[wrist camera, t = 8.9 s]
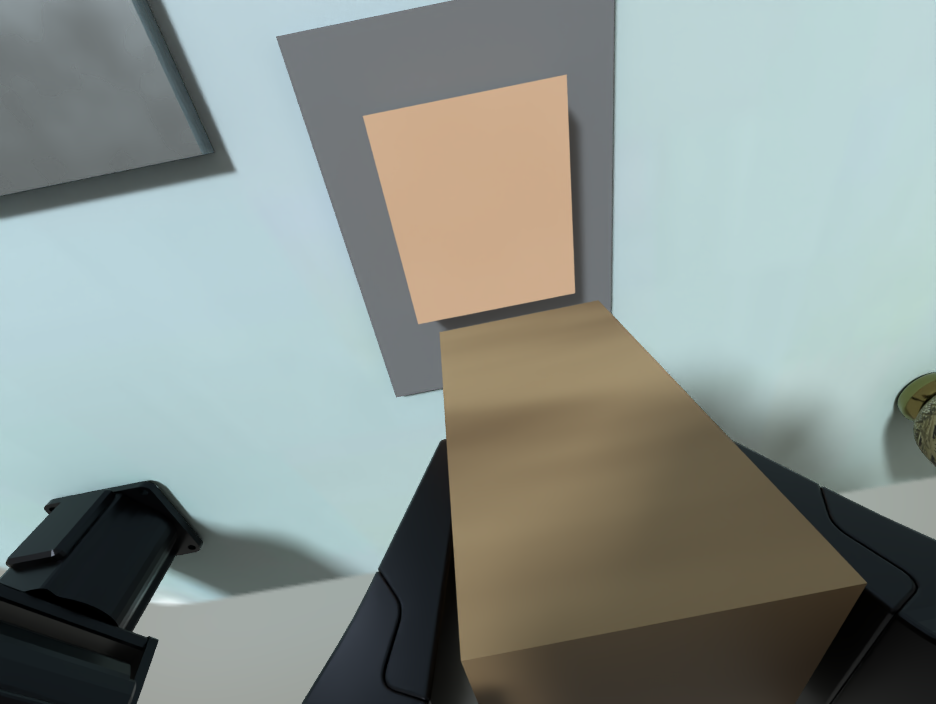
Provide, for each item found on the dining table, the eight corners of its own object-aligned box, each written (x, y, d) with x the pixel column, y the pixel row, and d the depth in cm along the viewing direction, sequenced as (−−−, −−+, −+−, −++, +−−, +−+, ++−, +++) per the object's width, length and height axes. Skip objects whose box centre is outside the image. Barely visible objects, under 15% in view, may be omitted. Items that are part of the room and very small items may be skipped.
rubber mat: (606, 349, 23) (610, 355, 22) (396, 390, 23) (396, 397, 22) (607, -28, 14) (614, -33, 14) (281, 39, 15) (276, 37, 14)
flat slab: (575, 293, 18) (566, 74, 13) (418, 324, 18) (362, 116, 14) (560, 276, 19) (549, 79, 15) (418, 304, 20) (370, 116, 15)
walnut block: (599, 422, 12) (777, 732, 6) (467, 448, 12) (510, 782, 6) (598, 300, 10) (867, 583, 4) (439, 332, 10) (460, 661, 4)
